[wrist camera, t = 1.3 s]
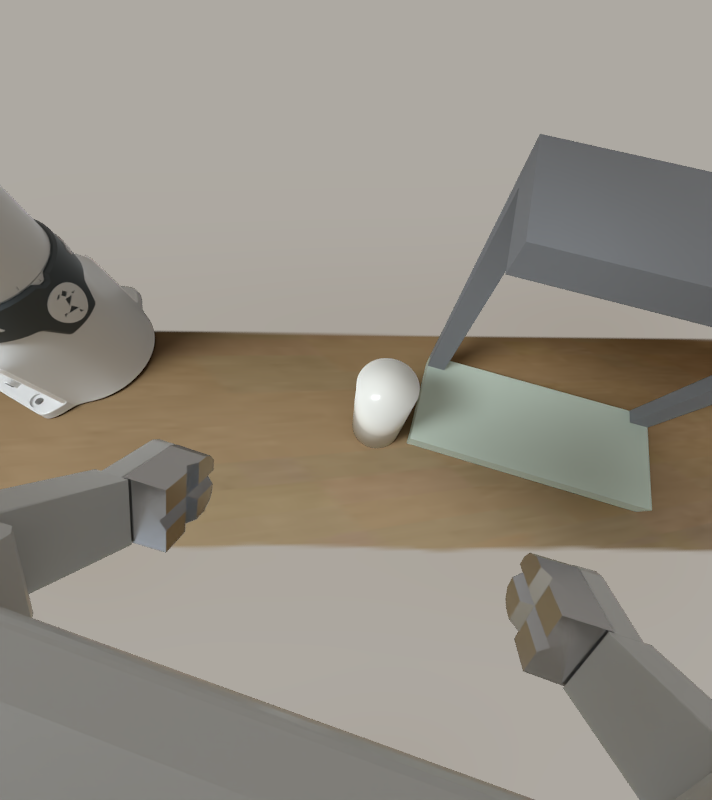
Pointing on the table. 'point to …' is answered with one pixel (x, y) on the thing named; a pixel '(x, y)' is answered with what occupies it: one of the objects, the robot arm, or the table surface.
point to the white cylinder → (383, 401)
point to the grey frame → (587, 274)
